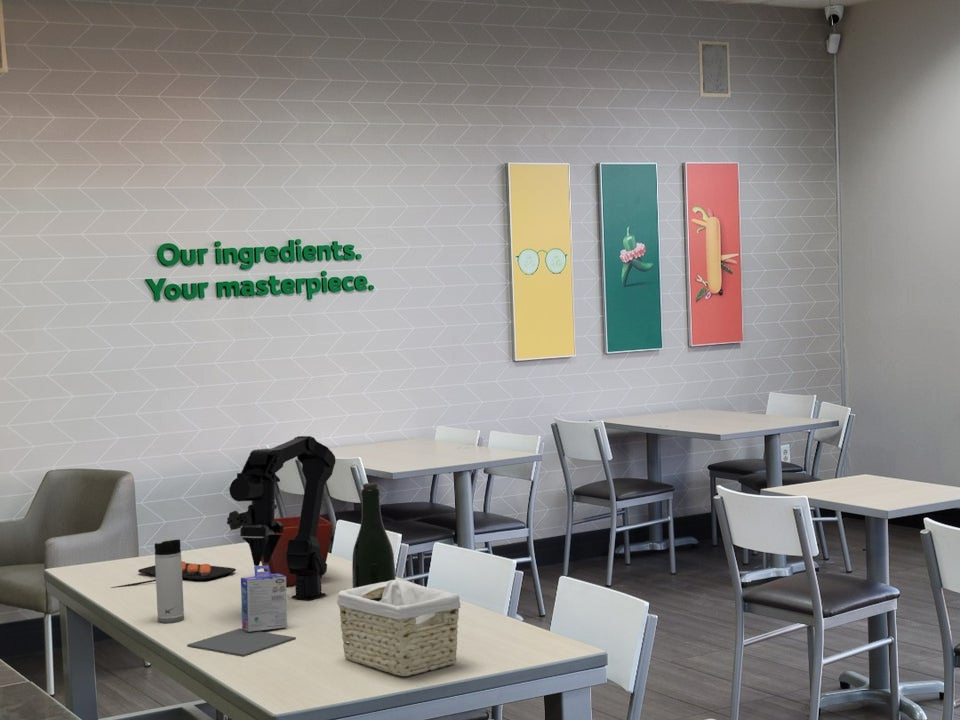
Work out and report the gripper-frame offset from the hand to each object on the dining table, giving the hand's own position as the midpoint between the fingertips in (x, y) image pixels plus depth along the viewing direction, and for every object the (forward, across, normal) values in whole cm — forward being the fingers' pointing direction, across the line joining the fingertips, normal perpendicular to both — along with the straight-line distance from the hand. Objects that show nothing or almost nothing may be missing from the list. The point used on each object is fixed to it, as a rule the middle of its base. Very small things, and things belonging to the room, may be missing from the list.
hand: (261, 564), depth 292 cm
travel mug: (+14, +1, -22) cm, 26 cm away
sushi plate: (+10, -48, -40) cm, 63 cm away
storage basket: (+16, +41, +41) cm, 60 cm away
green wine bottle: (+12, +6, +30) cm, 33 cm away
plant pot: (+8, -41, -1) cm, 42 cm away
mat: (+16, +23, +2) cm, 28 cm away
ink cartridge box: (+14, +12, +4) cm, 19 cm away
